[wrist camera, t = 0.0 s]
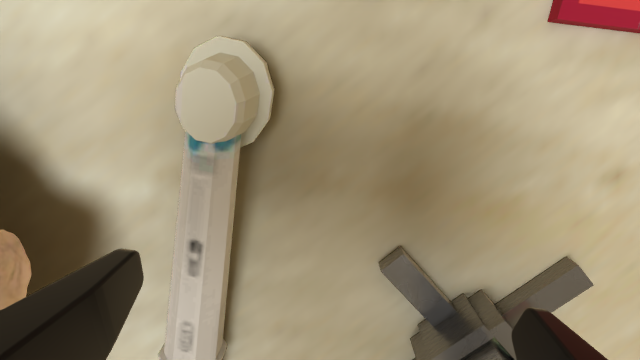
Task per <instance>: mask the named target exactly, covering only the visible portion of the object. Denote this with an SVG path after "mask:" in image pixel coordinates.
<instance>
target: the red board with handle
mask: <svg viewBox="0 0 640 360" xmlns="http://www.w3.org/2000/svg"><path fill="white" fill-rule="evenodd" d="M548 22H553V23H561V24H569V25H577V26H585V27H594V28H602V29H610V30H618V31H626V32H634V33H640V0H553V3H552V7H551V11H550V14H549V18H548Z"/></svg>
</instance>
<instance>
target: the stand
mask: <svg viewBox="0 0 640 360" xmlns="http://www.w3.org/2000/svg"><path fill="white" fill-rule="evenodd" d="M379 266H380V270H381V272H382V273H383V274H384V275H385V276H386V277H387V278H388V279H389V280H390V281H391V282H392V284H393V285H394V286H395V287H396V288H397V289H398V290H399V291H400V292H401V293H402V294H403V295H404V296H405V297H406V298H407V299H408V301H409V302H410V303H411V304H412V305H413V306H414V307H415V308H416V309H417V310H418V311H419V312H420V313H421V314H422V315H423V317H424V318H425V319H426V320H424V321H423V322H421V323H420V324H418V327H419V330H420V332H419V333H418V334H416V335H415V336H413V337H412V338H410V340H411V343H412V346H413V349H414V353H415V356H416V358H415V359H414V360H460V359H462V358H463V357H465V356H466V355H468V354H469V353H471V352H472V351H474V350H475V349H477V348H479V347H480V346H482V345H483V344H485V343H486V342H488V341H489V340H491V339H492V338H494V337H495V338H496V339H497V341H498V342H499V343H500V344H501V345H502V346H503V347H504V348H505V349H506V351H507V352H508V353H509V355H510V356H509V358H510V359H511V360H516V356H515V352H514V348H513V344H512V338H511V334H512V329H513V328H514V326H515V324H516V323H517V321H518V319H519V318H520V316H521V315H522V313H523V311H524V310H525V309H527V308H530V307H531V308H538V309H545V310H547V311H549V312H550V313H551V312H553V311H554V310H556V309H557V308H559V307H561V306H562V305H564V304H565V303H567V302H568V301H570V300H571V299H573V298H575V297H576V296H578V295H579V294H581V293H582V292H584V291H585V290H587V289H589V288H590V287H592V286H593V283H592V282H591V281H590V279H589V278H588V277H587V276H586V274H585V273H584V272H583V271H582V269H581V268H580V267H579V266H578V265H577V264H576V263H574V262H573V261H572V260H570V259H569V258H567V257H565V258H564V259H562V260H561V261H559V262H558V263H556V264H555V265H553V266H552V267H550V268H549V269H547V270H546V271H544V272H543V273H541V274H540V275H538V276H537V277H535V278H534V279H532V280H531V281H529V282H528V283H526V284H525V285H523V286H522V287H521V288H519V289H518V290H516V291H515V292H513V293H512V294H510V295H509V296H507V297H506V298H504V299H503V300H501V301H500V302H498V303H497V304H494V303H493V302H492V301H491V300H490V299H489V298H488V296H487V295H486V294H485V293H484V292H483V291H482V290H480V291H478V292H477V293H476V294H474V295H473V296H471V297H470V298H467V297H466V296H465V295H464V294H461V295H460V296H459V297H457V298H456V299H454V300H453V301H450V300H449V299H448V298H447V297H446V296H445V295H444V294H443V293H442V291H441V290H440V289H439V288H438V287H437V286H436V285H435V284H434V283H433V282H432V280H431V279H430V278H429V277H428V276H427V275H426V274H425V273H424V272H423V271H422V269H421V268H420V267H419V266H418V265H417V264H416V263H415V262H414V261H413V260H412V258H411V257H410V256H409V255H408V254H407V253H406V252H405V251H404V250H403V249H402V247H401V246H400V247H399V248H397V249H396V250H395V251H393V252H392V253H391V254H389V255H388V256H387V257H385V258H384V259H383V260H382V261H380V262H379Z"/></svg>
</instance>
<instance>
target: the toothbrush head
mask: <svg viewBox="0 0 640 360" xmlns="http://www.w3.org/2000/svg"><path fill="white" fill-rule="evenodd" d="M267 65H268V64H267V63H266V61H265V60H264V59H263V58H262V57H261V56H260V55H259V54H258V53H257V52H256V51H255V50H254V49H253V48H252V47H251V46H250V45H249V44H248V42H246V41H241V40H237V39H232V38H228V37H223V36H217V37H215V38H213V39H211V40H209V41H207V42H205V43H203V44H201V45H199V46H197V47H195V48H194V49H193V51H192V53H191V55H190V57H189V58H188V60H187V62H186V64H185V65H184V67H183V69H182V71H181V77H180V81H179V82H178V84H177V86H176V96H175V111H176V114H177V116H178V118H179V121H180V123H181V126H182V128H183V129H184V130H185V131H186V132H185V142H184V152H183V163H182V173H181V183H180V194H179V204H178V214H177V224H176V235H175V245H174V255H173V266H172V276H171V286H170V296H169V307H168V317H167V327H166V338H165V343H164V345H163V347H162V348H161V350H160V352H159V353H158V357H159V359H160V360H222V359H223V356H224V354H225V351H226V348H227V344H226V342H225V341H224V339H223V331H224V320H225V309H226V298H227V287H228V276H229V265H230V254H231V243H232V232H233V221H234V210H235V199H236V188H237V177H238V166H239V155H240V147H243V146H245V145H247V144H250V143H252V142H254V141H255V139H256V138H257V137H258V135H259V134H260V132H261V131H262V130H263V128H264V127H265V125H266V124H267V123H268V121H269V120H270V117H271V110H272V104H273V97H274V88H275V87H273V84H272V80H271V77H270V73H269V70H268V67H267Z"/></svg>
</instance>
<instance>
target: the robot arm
mask: <svg viewBox="0 0 640 360" xmlns="http://www.w3.org/2000/svg"><path fill="white" fill-rule="evenodd" d="M143 278H144V277H143V270H142V265H141V259H140V255H139V253H138V252H137V251H135V250H128V249H117V250H115V251H113V252H111V253H109V254H107V255H105V256H103V257H101V258H100V259H98V260H96V261H94V262H92V263H90V264H88V265H86V266H84V267H82V268H80V269H78V270H77V271H75V272H73V273H71V274H69V275H67V276H65V277H63V278H61V279H59V280H57V281H56V282H54V283H52V284H50V285H48V286H46V287H44V288H42V289H40V290H38V291H36V292H34V293H33V294H31V295H29V296H27V297H25V298H23V299H21V300H19V301H17V302H15V303H13V304H11V305H10V306H8V307H6V308H4V309H2V310H0V360H106V359H107V357H108V355H109V353H110V352H111V350H112V348H113V346H114V344H115V342H116V340H117V338H118V336H119V333H120V331H121V329H122V327H123V325H124V323H125V321H126V319H127V317H128V314H129V312H130V310H131V308H132V306H133V304H134V302H135V300H136V298H137V295H138V293H139V291H140V289H141V287H142V284H143ZM511 338H512V344H513V348H514V352H515V356H516V360H608V359H607V358H605V357H604V356H603V355H602V354H600V353H599V352H598V351H597V350H596V349H594V348H593V347H592V346H591V345H589V344H588V343H587V342H586V341H585V340H583V339H582V338H581V337H580V336H579V335H577V334H576V333H575V332H574V331H572V330H571V329H570V328H569V327H568V326H566V325H565V324H564V323H563V322H561V321H560V320H559V319H558V318H557V317H555V316H554V315H553V314H552V313H550V312H549V311H547V310H545V309H538V308H531V307H530V308H527V309H525V310H524V311H523V313H522V315H521V316H520V318H519V319H518V321H517V323H516V324H515V326H514V328H513V329H512V334H511Z"/></svg>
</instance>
